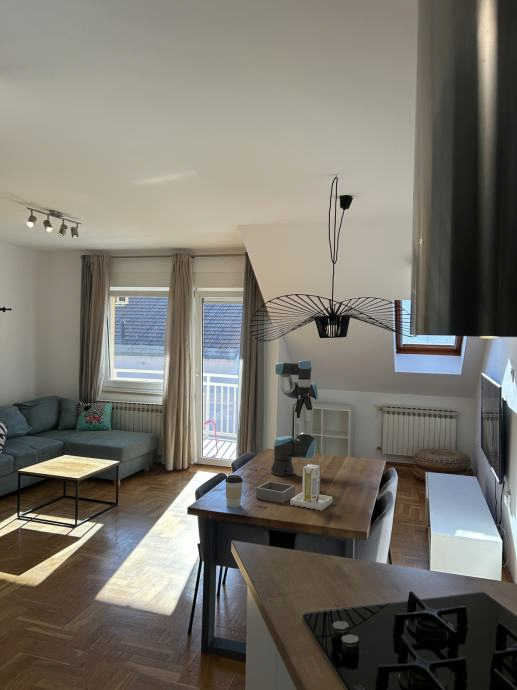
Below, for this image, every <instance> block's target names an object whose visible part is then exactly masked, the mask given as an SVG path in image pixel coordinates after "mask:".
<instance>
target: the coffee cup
mask: <svg viewBox="0 0 517 690" xmlns="http://www.w3.org/2000/svg"><path fill="white" fill-rule="evenodd" d="M224 479H225V480H224V481H225V498H226V506H227V507H228V506H229V507H228V508H239V507H241V499H242V494H243V493H242V492H243V483H244V478H243V477H242V476H241V475H238V474H230V475H227V477H225V478H224Z"/></svg>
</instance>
